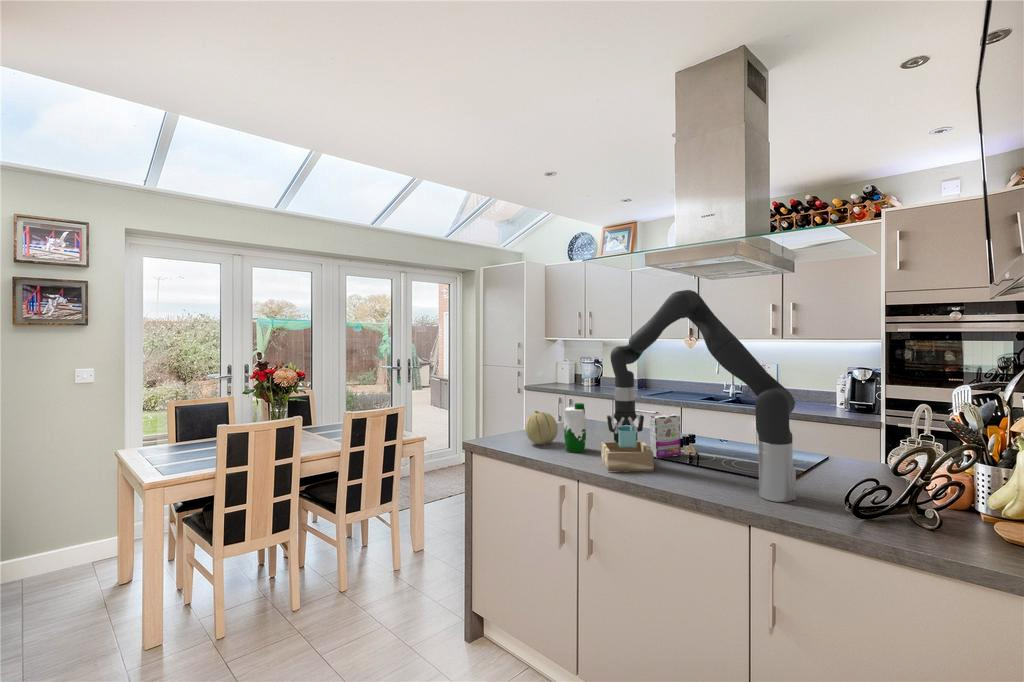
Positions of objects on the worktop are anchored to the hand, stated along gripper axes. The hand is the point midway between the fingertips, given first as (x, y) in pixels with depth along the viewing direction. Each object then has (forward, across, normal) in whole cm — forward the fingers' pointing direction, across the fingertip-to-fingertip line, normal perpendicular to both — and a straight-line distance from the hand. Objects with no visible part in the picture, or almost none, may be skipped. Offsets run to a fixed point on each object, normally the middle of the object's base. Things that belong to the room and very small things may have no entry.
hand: (625, 442), depth 196 cm
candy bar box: (+9, +18, +12) cm, 23 cm away
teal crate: (+1, 0, 0) cm, 1 cm away
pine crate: (+9, 0, 0) cm, 9 cm away
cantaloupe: (+9, -31, +36) cm, 48 cm away
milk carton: (+9, -17, +24) cm, 31 cm away
